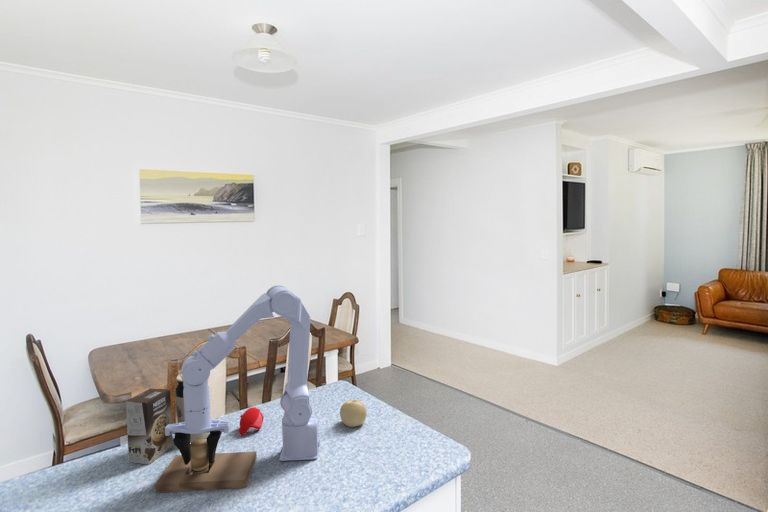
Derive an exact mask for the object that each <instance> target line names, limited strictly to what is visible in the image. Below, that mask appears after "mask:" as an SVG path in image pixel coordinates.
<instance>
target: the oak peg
mask: <svg viewBox="0 0 768 512" xmlns="http://www.w3.org/2000/svg"><path fill="white" fill-rule="evenodd" d="M190 453H191V466H192V472H191V474H202V473H209V471H210V469H209V464H208V463H209V450H208V444H207V440H206V438H205V439H198V440H195V441H193V442H192V443H191V444H190Z"/></svg>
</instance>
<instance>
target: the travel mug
mask: <svg viewBox="0 0 768 512" xmlns="http://www.w3.org/2000/svg"><path fill="white" fill-rule="evenodd" d="M176 381H177V383H178V384H177V386H176V388H175V401H176V403H175V404H176V418H177V419H176V420H177V422H176V423H181V422H185V417H184V398H183V389H184V387H183V382H184V379H183V377H182V373H179V374H178V375H177V376H176ZM209 434H210V432H209V433H198V434H191V436H190V443H192V442H193V441H195V440H198V439H206V438H207V437H208V435H209Z"/></svg>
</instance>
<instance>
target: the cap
mask: <svg viewBox="0 0 768 512" xmlns="http://www.w3.org/2000/svg"><path fill="white" fill-rule="evenodd" d="M239 417H240V419H239V429H238V433H239V435H240V436H244V435H246V434H247V433H248V432H249V429H251V428H254V430H257V431H260V430H261V428H262V425H263V422H264V414H263V413H262V412H261V410H260V408H258V407H249V408H247V409H246V410H245V411H244V412H243V414H240V416H239Z"/></svg>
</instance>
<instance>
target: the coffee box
mask: <svg viewBox="0 0 768 512" xmlns="http://www.w3.org/2000/svg"><path fill="white" fill-rule="evenodd" d="M125 409H126V411H125V412H126V413H125V414H126V433H127V449H128V450H127V452H128V454H127V456H128V462H129V463H135V464H143V465H151V464H152V463H153V462H155V461H156V460H157V459H159V458H160V457H161V456H163V455H164V454H165V453H166V452H168V451H169V450H170V449H172V448H173V447H174V443H173V439H174V438H173V434H171V435H170V436H165V428H166V426H167V425H168V424H173V422H172V400H171V389H169V388H167V389H166V388H153V387H152V388H148V389H147V390H144V391H143V392H141V393H139V394H137V395H134V396H132V397H131V398H130V399H129V398H128V399H127V400H126V401H125Z"/></svg>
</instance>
